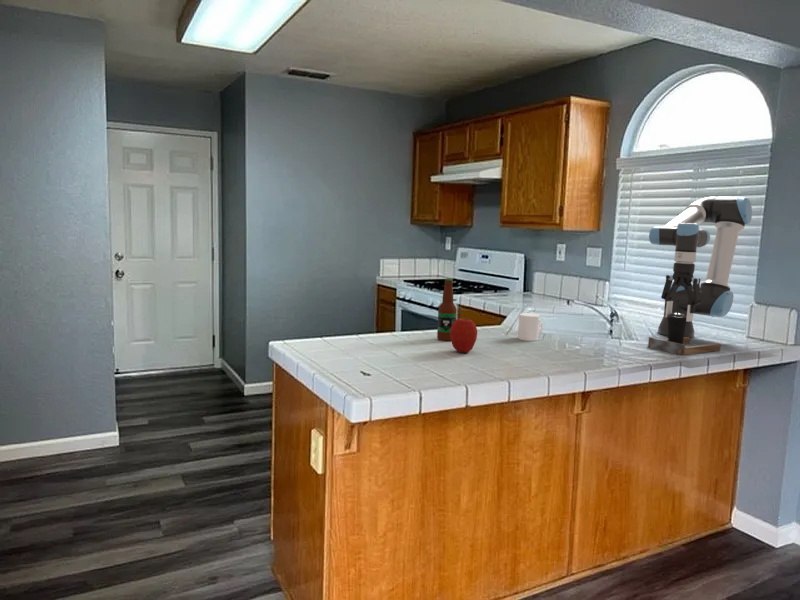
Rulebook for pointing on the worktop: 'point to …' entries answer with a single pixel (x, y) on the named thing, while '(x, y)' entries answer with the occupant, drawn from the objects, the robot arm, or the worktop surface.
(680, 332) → the drinking cup
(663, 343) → the channel
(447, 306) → the bottle
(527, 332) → the mug
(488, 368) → the worktop surface
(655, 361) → the worktop surface
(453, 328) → the apple
